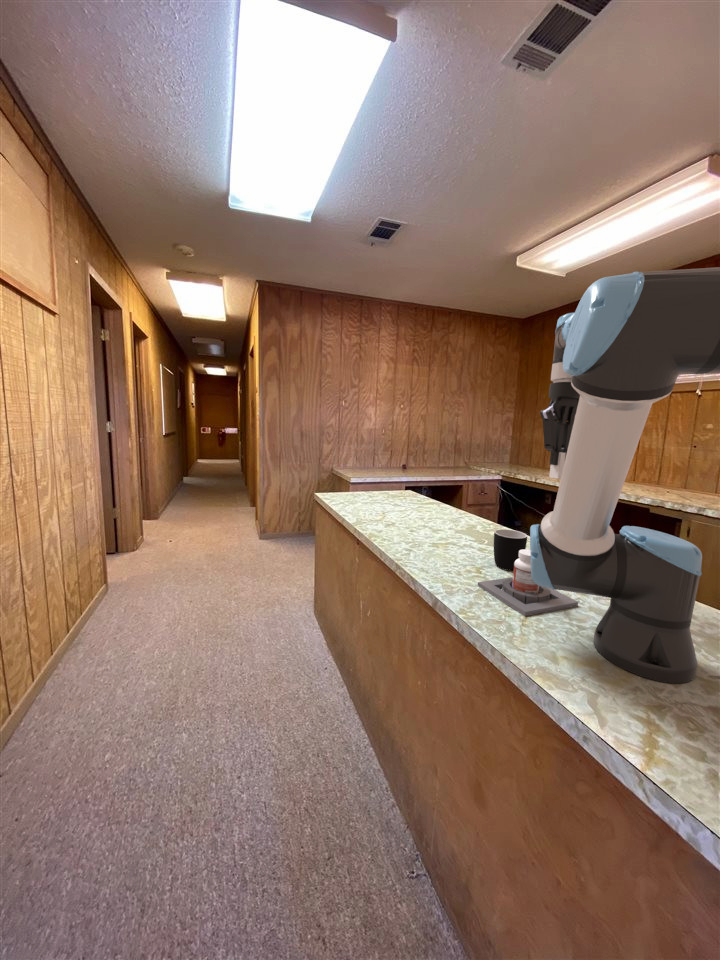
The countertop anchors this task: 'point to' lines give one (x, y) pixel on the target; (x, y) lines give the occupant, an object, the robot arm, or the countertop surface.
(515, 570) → the pill bottle
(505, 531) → the mug
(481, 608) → the countertop surface
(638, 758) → the countertop surface
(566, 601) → the grey plate with hole
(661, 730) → the countertop surface
